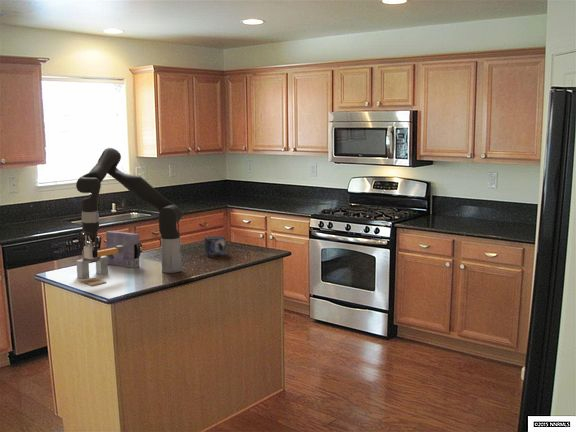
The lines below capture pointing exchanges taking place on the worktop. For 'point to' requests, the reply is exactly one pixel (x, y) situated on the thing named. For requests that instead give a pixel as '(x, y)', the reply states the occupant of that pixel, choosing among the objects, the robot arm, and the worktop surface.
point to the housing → (84, 266)
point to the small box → (215, 246)
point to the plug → (102, 251)
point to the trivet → (93, 281)
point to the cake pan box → (130, 249)
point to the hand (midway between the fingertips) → (92, 256)
